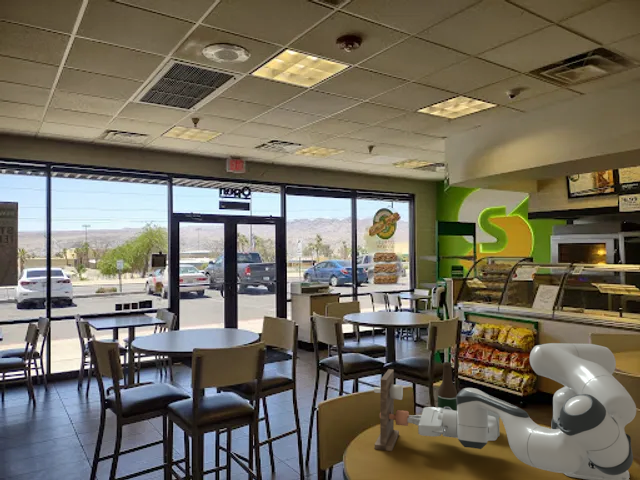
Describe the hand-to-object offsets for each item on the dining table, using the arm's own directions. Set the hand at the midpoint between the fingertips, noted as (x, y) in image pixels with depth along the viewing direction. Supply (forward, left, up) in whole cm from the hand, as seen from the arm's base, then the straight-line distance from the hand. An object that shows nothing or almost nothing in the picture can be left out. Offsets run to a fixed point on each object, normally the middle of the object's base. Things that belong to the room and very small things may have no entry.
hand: (407, 418), depth 170 cm
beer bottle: (-5, -29, -9) cm, 31 cm away
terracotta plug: (+5, +1, -2) cm, 6 cm away
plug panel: (+7, +2, -9) cm, 12 cm away
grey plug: (+7, +2, +6) cm, 10 cm away
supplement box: (-21, -27, -9) cm, 36 cm away
